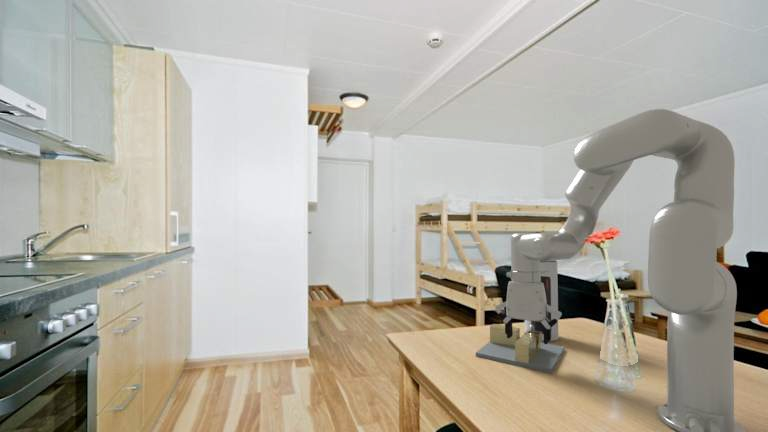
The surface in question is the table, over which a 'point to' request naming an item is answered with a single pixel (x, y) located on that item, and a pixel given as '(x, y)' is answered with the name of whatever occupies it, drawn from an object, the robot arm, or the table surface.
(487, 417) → the table surface
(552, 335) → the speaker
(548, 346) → the grey base plate
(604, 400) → the table surface
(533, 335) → the beige block
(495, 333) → the fixed leaf
